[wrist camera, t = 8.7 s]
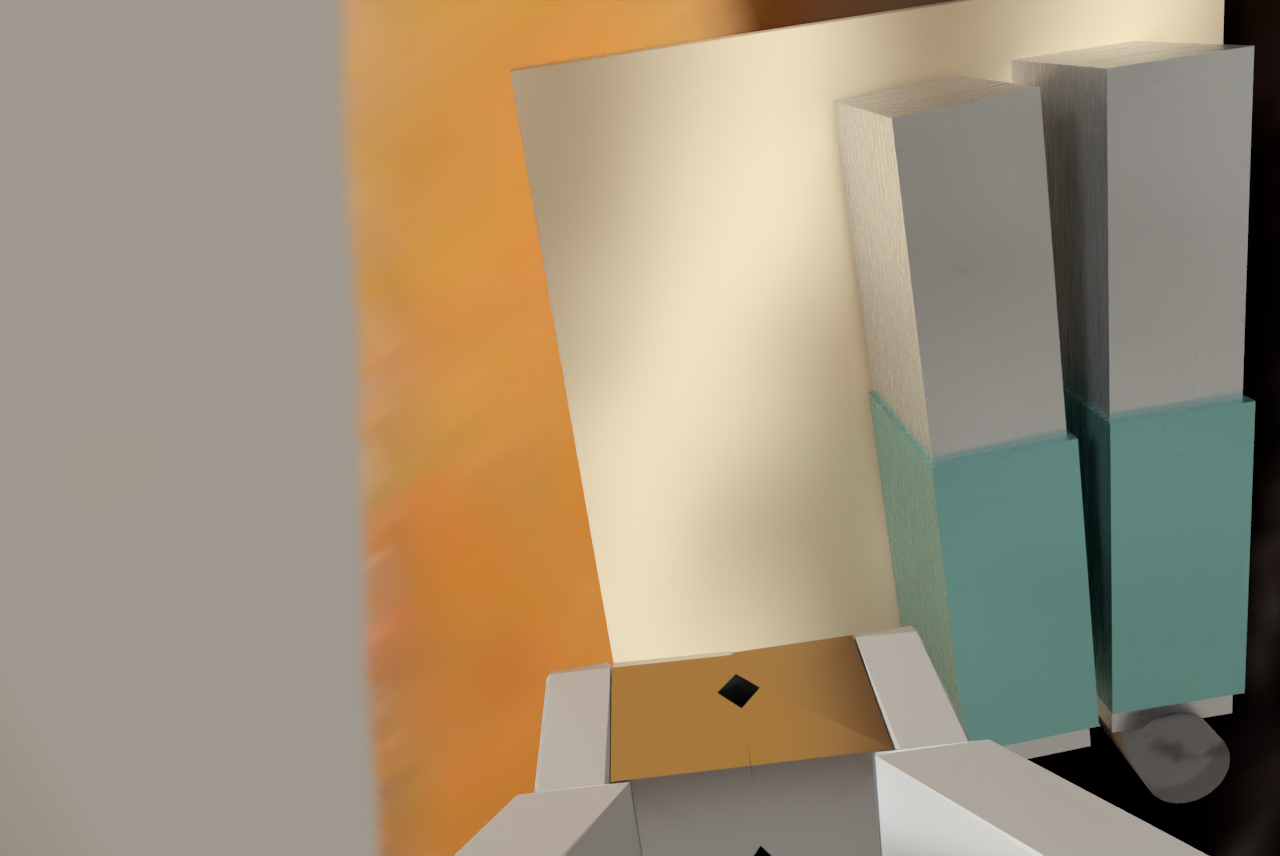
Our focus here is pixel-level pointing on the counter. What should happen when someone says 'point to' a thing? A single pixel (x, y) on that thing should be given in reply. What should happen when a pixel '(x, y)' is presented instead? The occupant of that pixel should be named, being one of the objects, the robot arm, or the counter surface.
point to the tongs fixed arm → (1157, 380)
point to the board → (745, 305)
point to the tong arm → (973, 401)
